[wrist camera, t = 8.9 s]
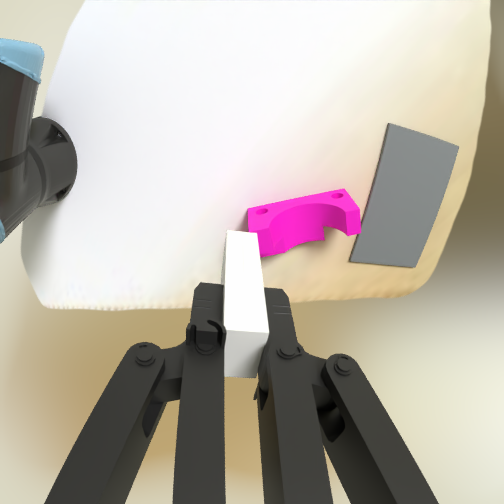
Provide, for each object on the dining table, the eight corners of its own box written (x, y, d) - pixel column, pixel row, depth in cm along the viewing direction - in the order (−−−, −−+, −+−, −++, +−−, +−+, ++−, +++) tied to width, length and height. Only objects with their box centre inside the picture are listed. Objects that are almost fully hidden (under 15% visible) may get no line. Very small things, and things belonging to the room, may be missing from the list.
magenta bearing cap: (256, 242, 51) (259, 269, 45) (247, 207, 48) (248, 232, 41) (347, 223, 49) (361, 248, 43) (343, 187, 46) (359, 209, 40)
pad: (349, 259, 53) (350, 261, 52) (388, 122, 40) (390, 123, 39) (414, 265, 54) (415, 267, 54) (457, 145, 41) (459, 146, 41)
